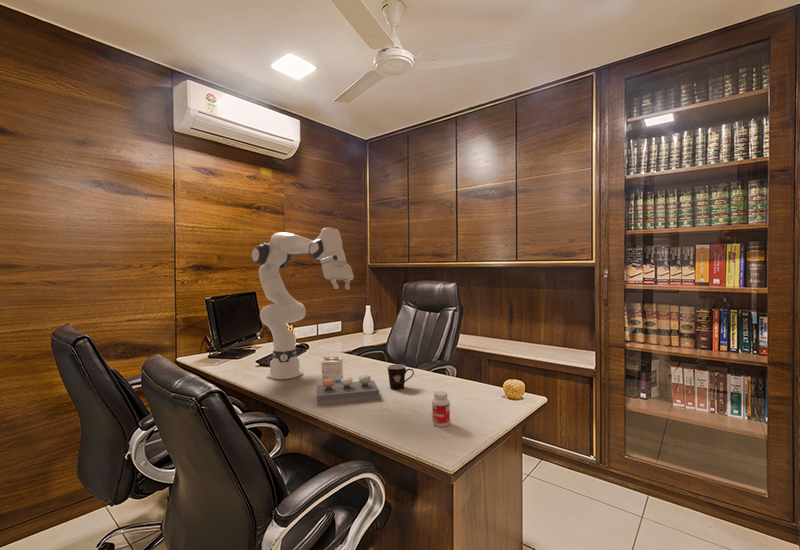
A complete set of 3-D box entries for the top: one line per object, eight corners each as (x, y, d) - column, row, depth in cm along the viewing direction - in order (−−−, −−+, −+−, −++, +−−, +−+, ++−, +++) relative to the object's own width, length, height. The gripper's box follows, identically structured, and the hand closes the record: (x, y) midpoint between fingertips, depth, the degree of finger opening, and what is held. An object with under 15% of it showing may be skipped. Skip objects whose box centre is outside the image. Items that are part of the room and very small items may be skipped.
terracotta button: (322, 389, 163) (322, 379, 163) (334, 388, 164) (333, 378, 164) (322, 392, 158) (322, 382, 158) (334, 391, 159) (334, 381, 159)
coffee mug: (384, 389, 171) (384, 368, 171) (392, 384, 179) (391, 363, 179) (408, 392, 167) (407, 370, 167) (414, 386, 175) (414, 365, 175)
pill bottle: (429, 424, 132) (428, 393, 132) (438, 418, 137) (438, 389, 137) (443, 429, 128) (443, 397, 128) (453, 423, 133) (452, 392, 133)
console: (316, 394, 168) (316, 385, 167) (373, 388, 173) (373, 380, 173) (317, 405, 153) (316, 396, 153) (379, 399, 159) (379, 390, 159)
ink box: (343, 380, 188) (342, 354, 187) (339, 385, 179) (338, 358, 179) (326, 380, 189) (326, 354, 188) (321, 385, 180) (321, 358, 180)
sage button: (358, 385, 167) (358, 375, 167) (369, 384, 168) (369, 375, 168) (360, 389, 162) (359, 379, 162) (371, 388, 163) (371, 378, 163)
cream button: (340, 387, 165) (340, 377, 165) (352, 386, 166) (351, 376, 166) (341, 390, 160) (341, 380, 160) (353, 389, 161) (353, 379, 161)
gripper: (342, 263, 184) (348, 290, 182) (317, 260, 165) (323, 290, 163) (353, 260, 182) (359, 287, 179) (329, 255, 163) (335, 286, 161)
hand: (342, 288), depth 171 cm, fingers open, 8 cm apart
